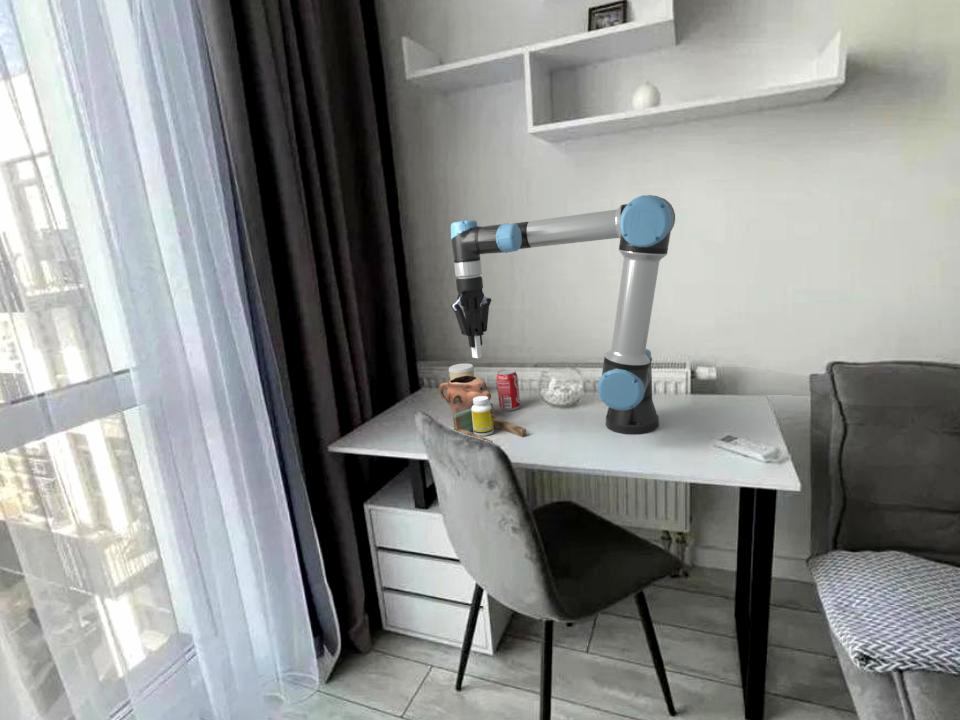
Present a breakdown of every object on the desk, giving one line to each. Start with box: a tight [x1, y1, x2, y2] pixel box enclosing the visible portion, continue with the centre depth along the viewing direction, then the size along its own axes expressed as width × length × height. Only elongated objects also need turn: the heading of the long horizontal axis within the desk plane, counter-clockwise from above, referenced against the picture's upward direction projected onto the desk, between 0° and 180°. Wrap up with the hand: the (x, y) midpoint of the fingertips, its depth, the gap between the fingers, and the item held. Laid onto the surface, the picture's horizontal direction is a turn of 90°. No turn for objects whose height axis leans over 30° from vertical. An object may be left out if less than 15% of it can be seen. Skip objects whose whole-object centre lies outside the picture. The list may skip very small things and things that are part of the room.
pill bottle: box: [471, 396, 495, 437], centre depth 167 cm, size 6×6×11 cm
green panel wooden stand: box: [452, 401, 527, 443], centre depth 164 cm, size 17×14×7 cm
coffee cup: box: [448, 363, 475, 381], centre depth 204 cm, size 9×9×12 cm
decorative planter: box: [438, 375, 492, 415], centre depth 180 cm, size 20×12×14 cm, turn 63°
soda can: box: [496, 368, 521, 412], centre depth 187 cm, size 7×7×13 cm
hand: (477, 357), depth 162 cm, fingers closed
